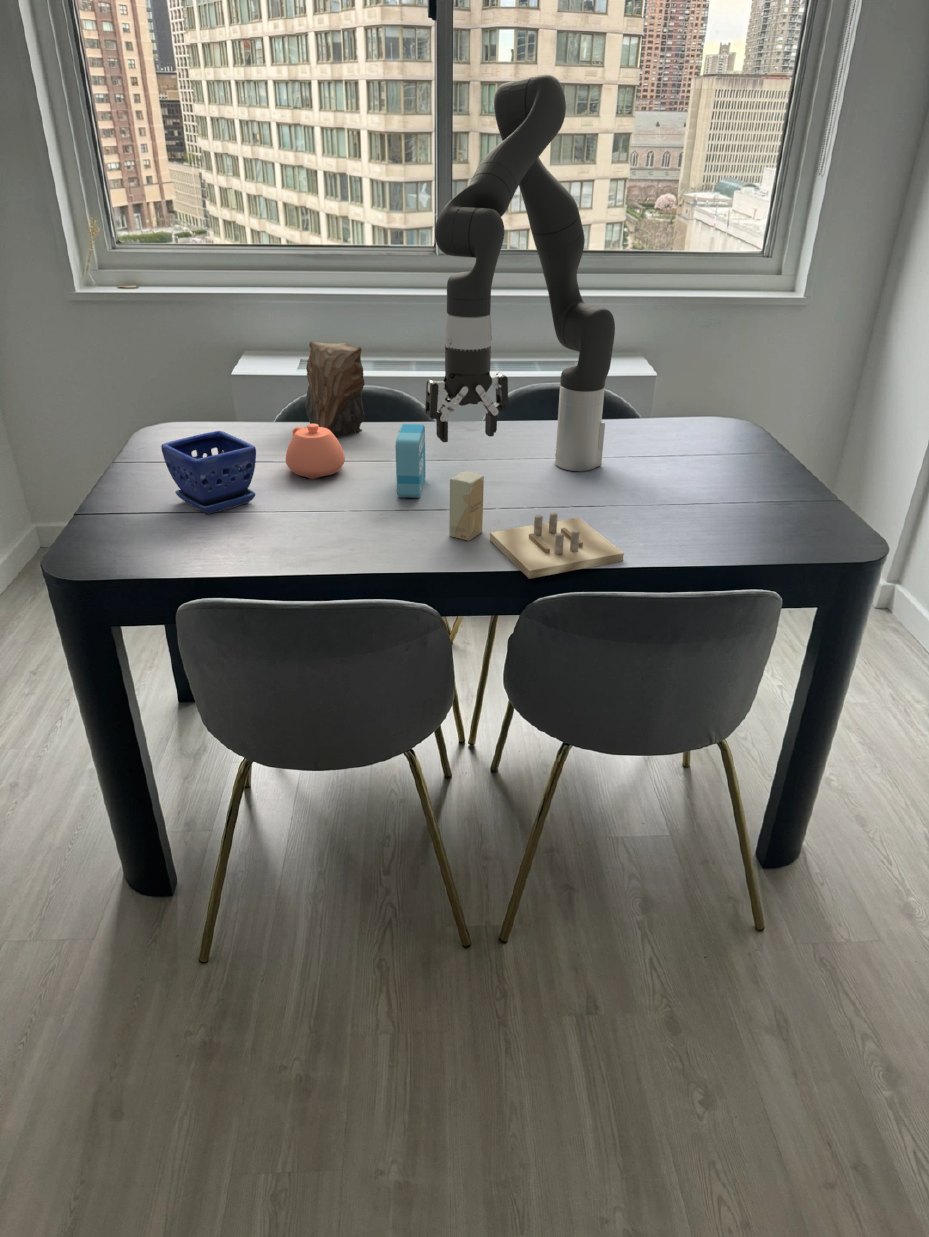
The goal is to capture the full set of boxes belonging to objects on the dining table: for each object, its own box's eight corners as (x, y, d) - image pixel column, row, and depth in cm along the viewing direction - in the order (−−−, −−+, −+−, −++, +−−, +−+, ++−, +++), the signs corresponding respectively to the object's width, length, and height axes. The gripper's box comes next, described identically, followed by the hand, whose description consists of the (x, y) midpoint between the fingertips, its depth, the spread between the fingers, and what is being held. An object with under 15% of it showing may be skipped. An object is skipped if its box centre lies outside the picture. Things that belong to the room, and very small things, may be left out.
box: (468, 541, 157) (469, 483, 152) (448, 536, 159) (448, 478, 154) (483, 531, 161) (484, 474, 155) (463, 526, 163) (464, 469, 157)
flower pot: (227, 484, 179) (220, 428, 173) (264, 503, 171) (257, 444, 165) (168, 502, 171) (158, 443, 165) (203, 522, 163) (194, 461, 157)
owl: (305, 425, 212) (298, 341, 202) (355, 419, 217) (350, 336, 206) (319, 441, 202) (312, 353, 192) (371, 434, 207) (367, 348, 197)
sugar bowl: (307, 487, 179) (303, 438, 173) (271, 468, 188) (266, 421, 182) (356, 473, 186) (354, 426, 180) (320, 455, 195) (316, 410, 189)
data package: (419, 500, 173) (418, 442, 167) (396, 499, 173) (395, 441, 167) (425, 478, 184) (424, 422, 177) (404, 477, 184) (402, 421, 178)
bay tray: (577, 524, 164) (579, 499, 161) (622, 560, 151) (625, 534, 149) (489, 539, 158) (490, 514, 155) (529, 578, 145) (530, 551, 143)
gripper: (498, 333, 148) (495, 427, 156) (419, 340, 143) (420, 436, 152) (517, 343, 142) (513, 440, 150) (435, 351, 137) (435, 450, 146)
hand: (466, 438), depth 151 cm, fingers open, 8 cm apart
